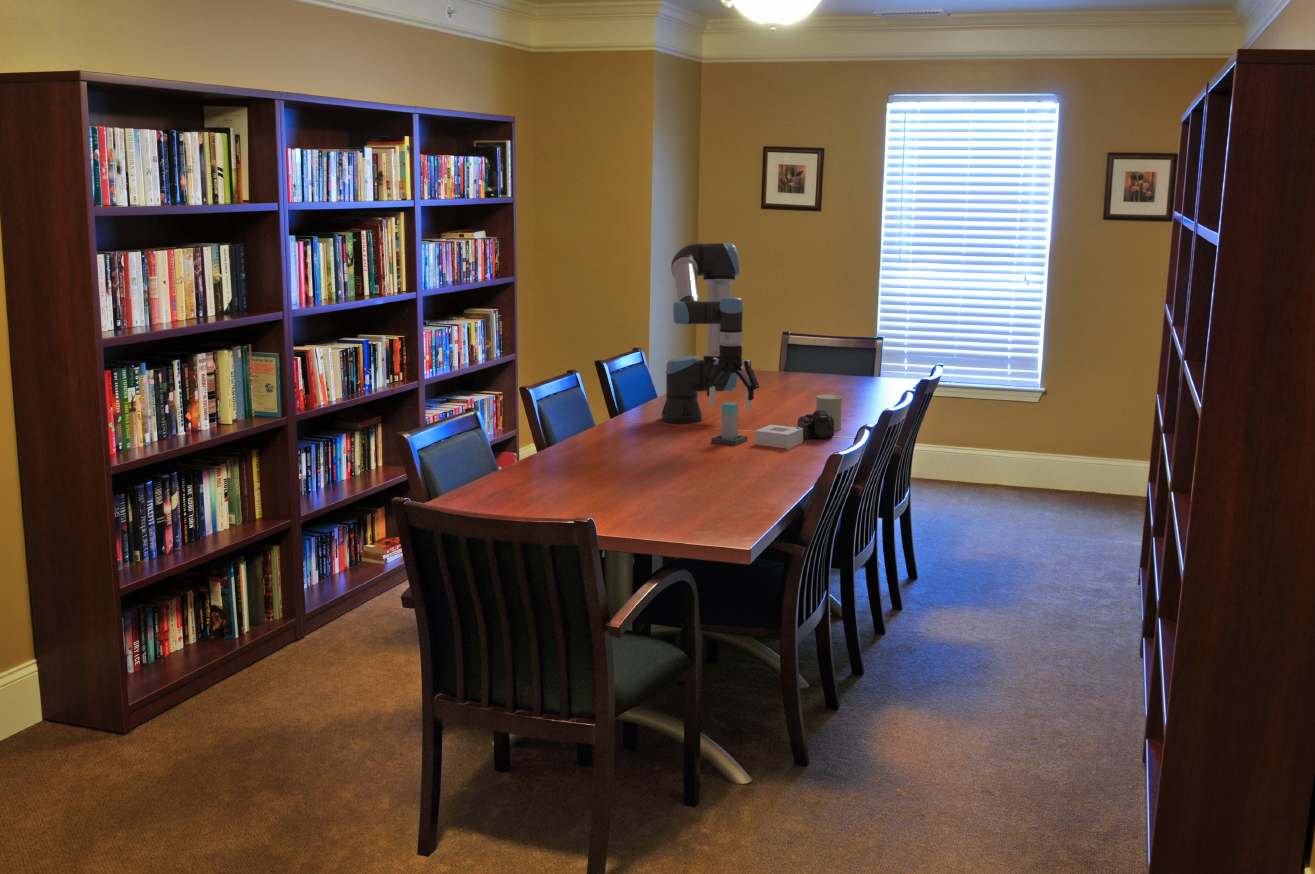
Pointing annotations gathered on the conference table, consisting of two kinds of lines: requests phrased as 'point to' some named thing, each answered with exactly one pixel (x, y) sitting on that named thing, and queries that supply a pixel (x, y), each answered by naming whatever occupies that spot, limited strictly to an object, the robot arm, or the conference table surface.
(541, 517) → the conference table surface
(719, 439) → the dark grey square tray
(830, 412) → the can
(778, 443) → the port panel
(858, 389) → the conference table surface
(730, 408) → the plug
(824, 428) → the camera
